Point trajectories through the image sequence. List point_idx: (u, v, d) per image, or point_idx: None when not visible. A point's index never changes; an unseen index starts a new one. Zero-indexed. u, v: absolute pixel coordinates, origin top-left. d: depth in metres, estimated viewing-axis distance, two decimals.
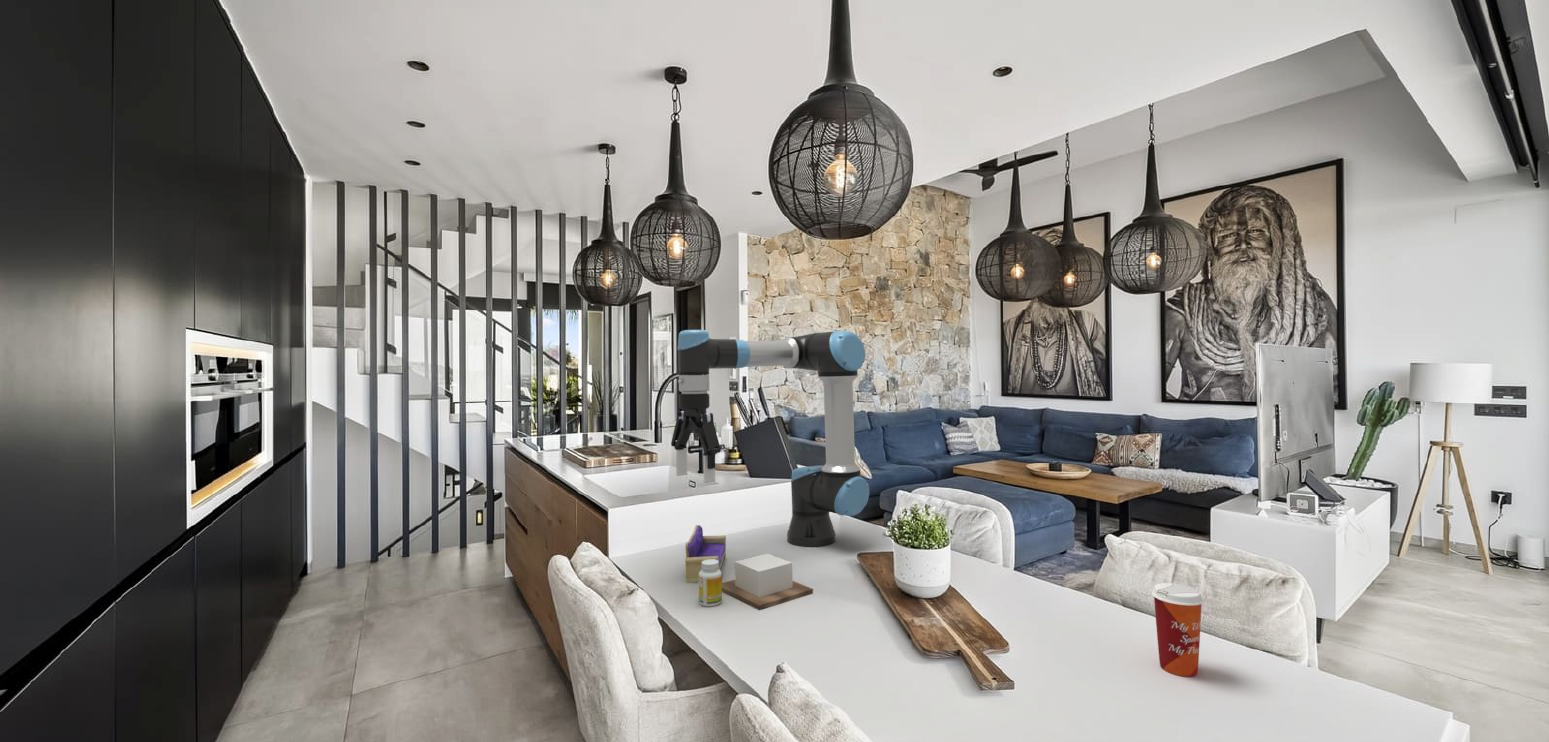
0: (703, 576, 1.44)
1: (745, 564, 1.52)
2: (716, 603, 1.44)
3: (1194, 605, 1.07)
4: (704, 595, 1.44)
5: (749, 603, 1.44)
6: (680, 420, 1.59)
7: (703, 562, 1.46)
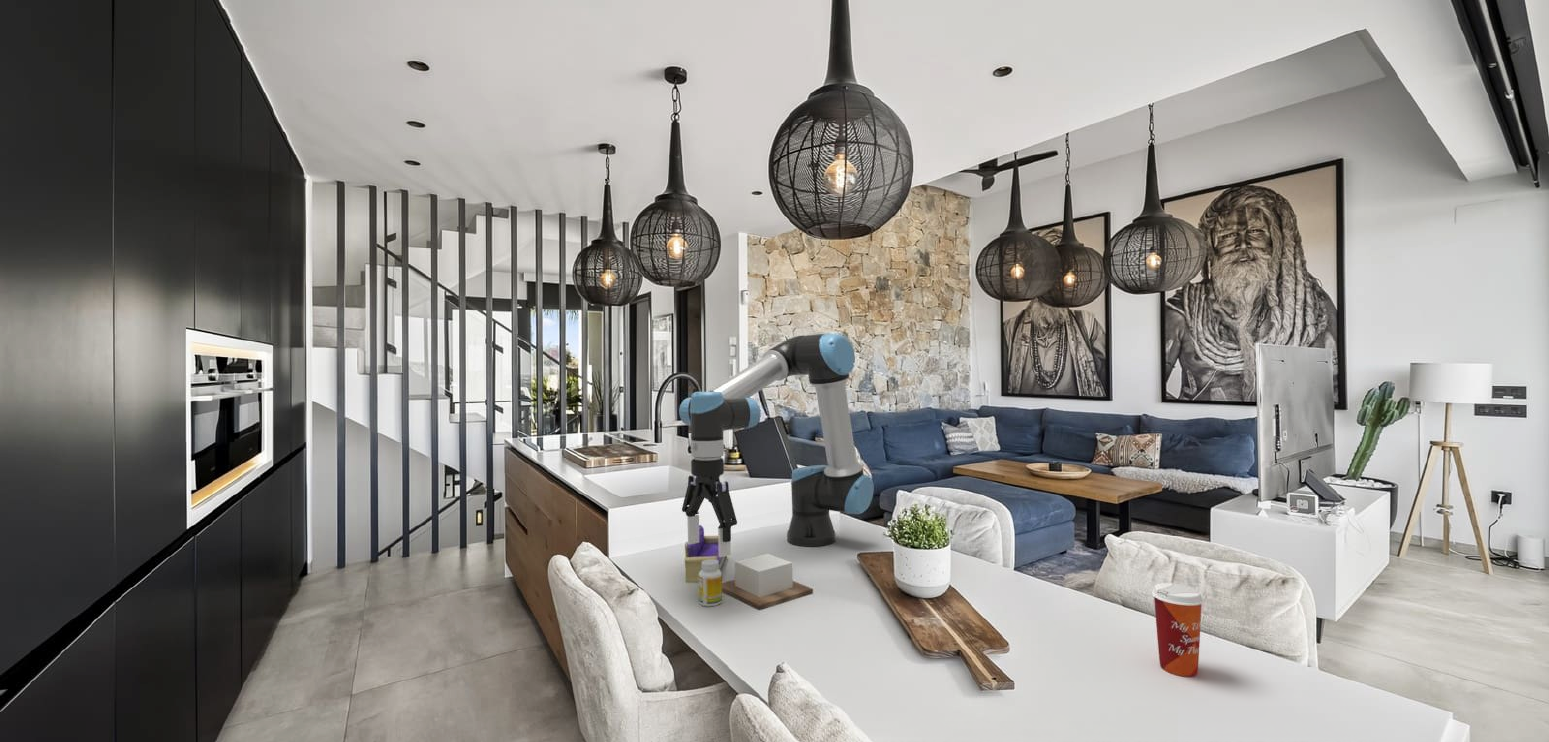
0: (703, 576, 1.44)
1: (745, 564, 1.52)
2: (716, 603, 1.44)
3: (1194, 605, 1.07)
4: (704, 595, 1.44)
5: (749, 603, 1.44)
6: (692, 485, 1.50)
7: (703, 562, 1.46)
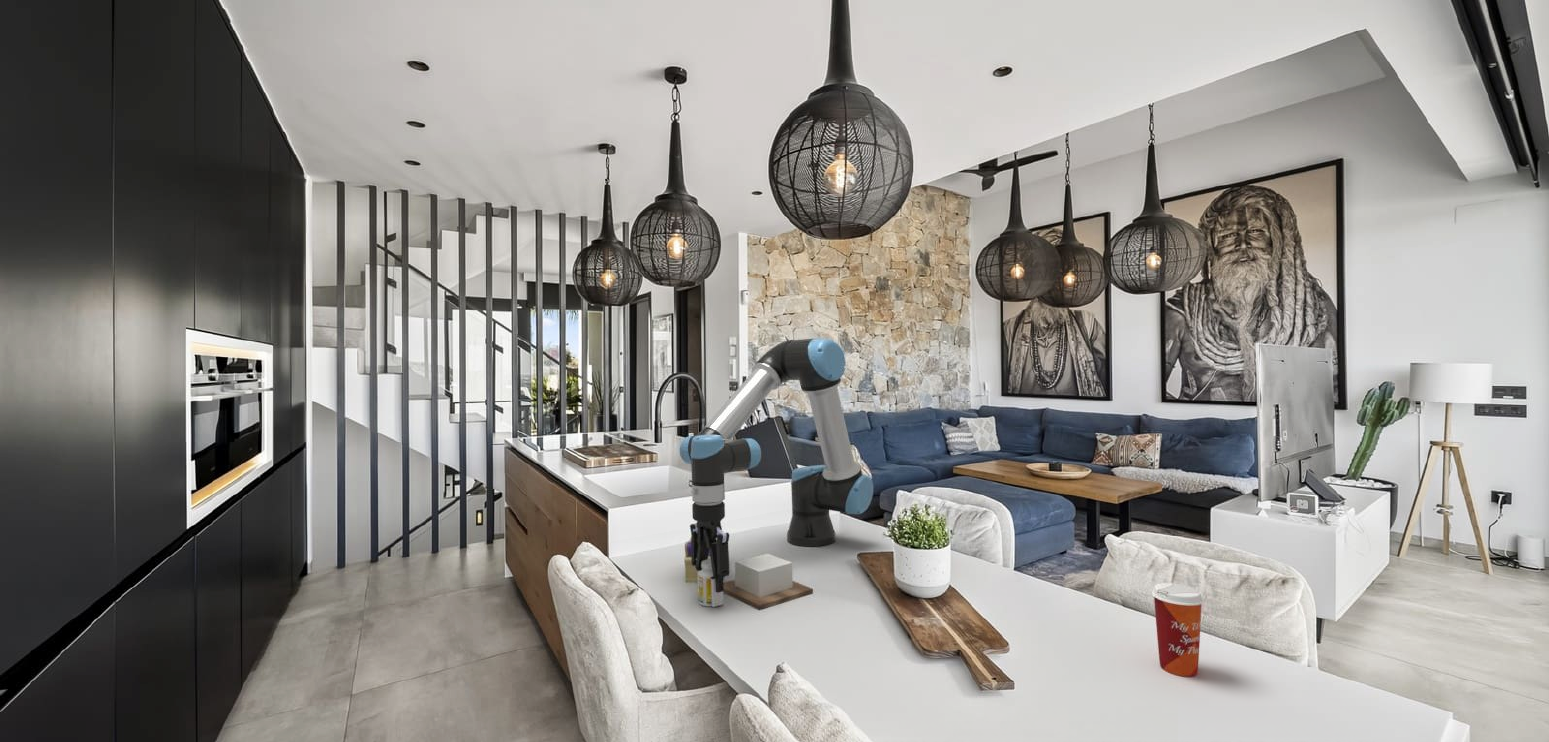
0: (703, 576, 1.44)
1: (745, 564, 1.52)
2: None
3: (1194, 605, 1.07)
4: (704, 594, 1.44)
5: (749, 603, 1.44)
6: (695, 533, 1.50)
7: (703, 562, 1.46)
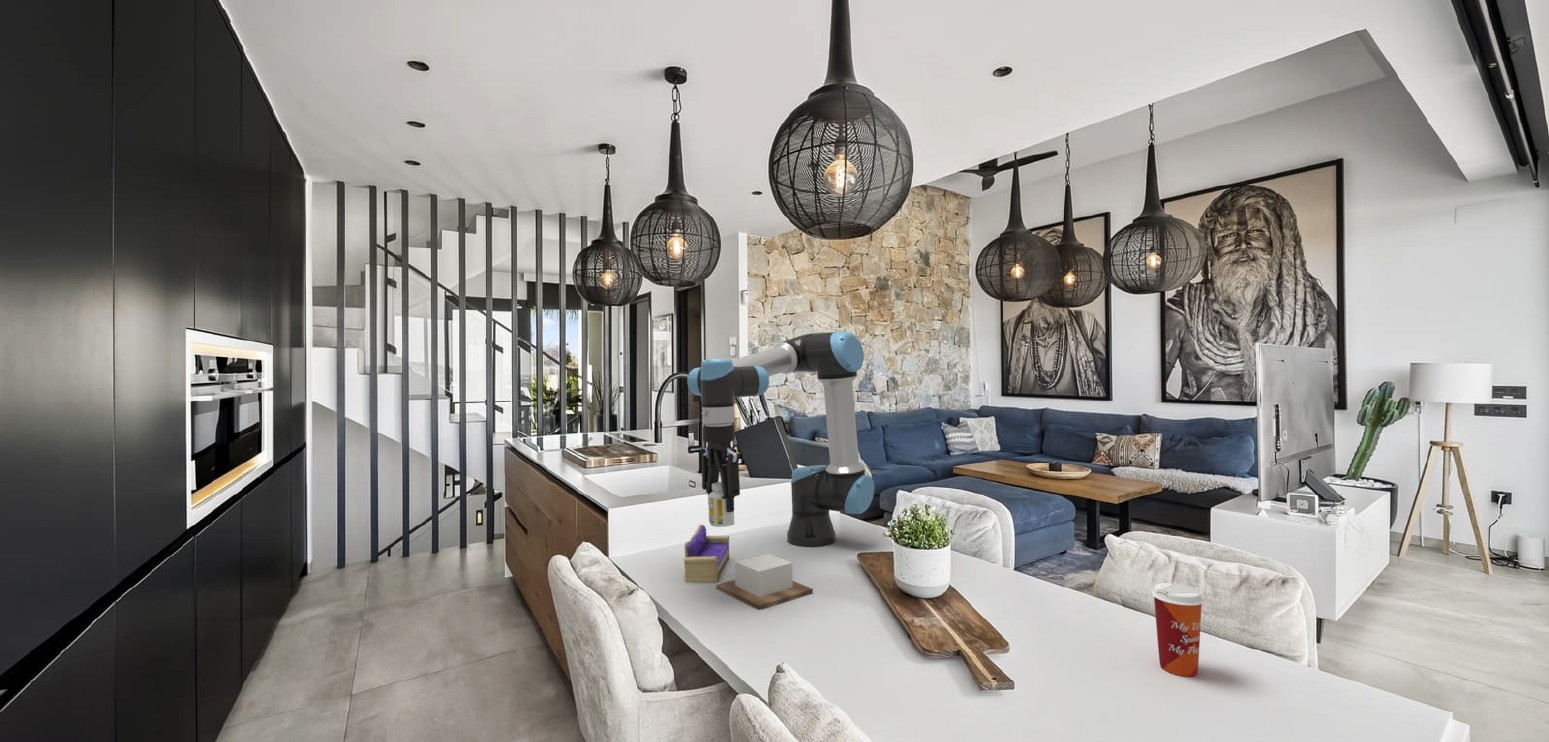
0: (714, 497, 1.45)
1: (745, 564, 1.52)
2: None
3: (1194, 605, 1.07)
4: (715, 515, 1.45)
5: (749, 603, 1.44)
6: (705, 457, 1.51)
7: (713, 484, 1.47)
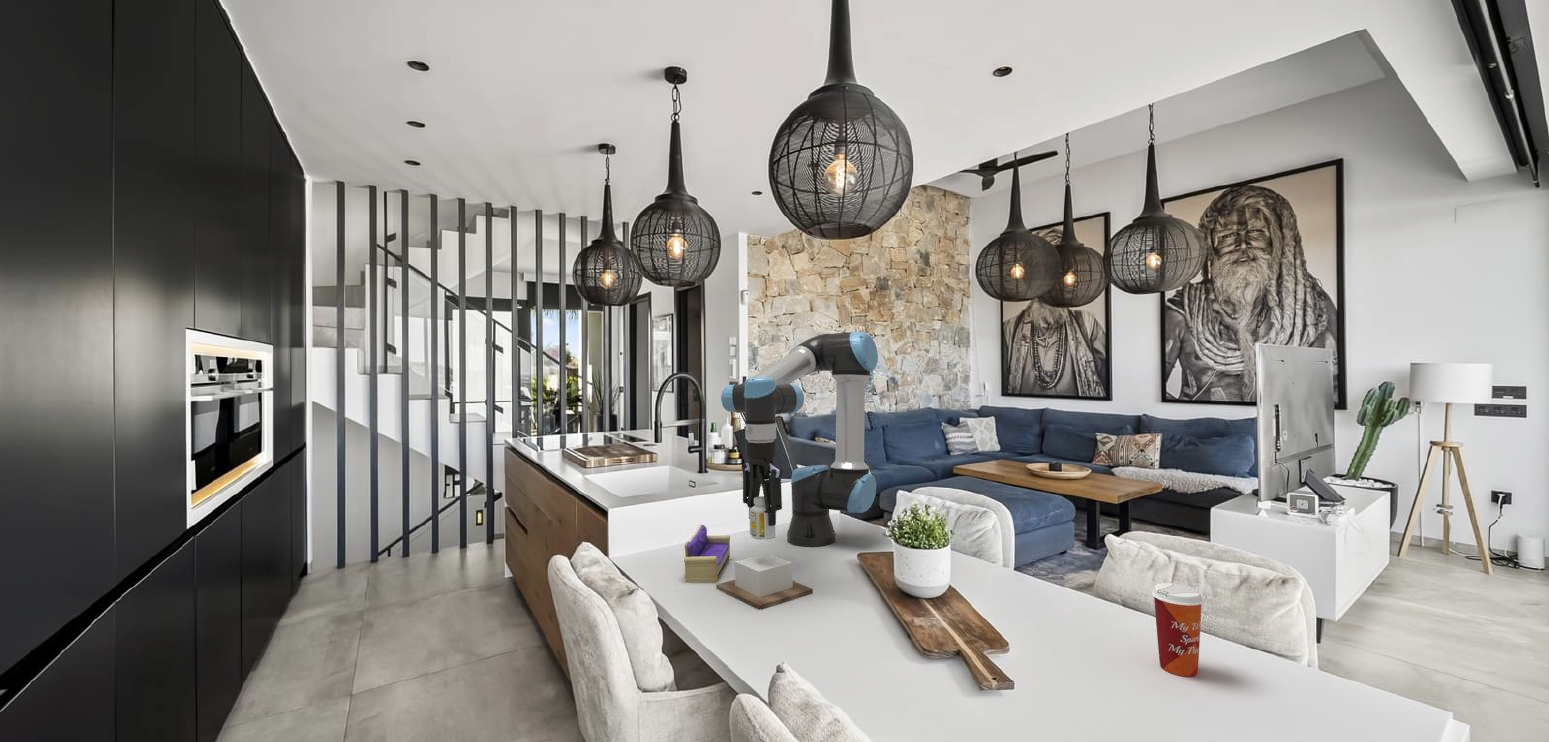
0: (756, 511, 1.51)
1: (745, 564, 1.52)
2: None
3: (1194, 605, 1.07)
4: (757, 528, 1.50)
5: (749, 603, 1.44)
6: (747, 472, 1.56)
7: (755, 498, 1.52)
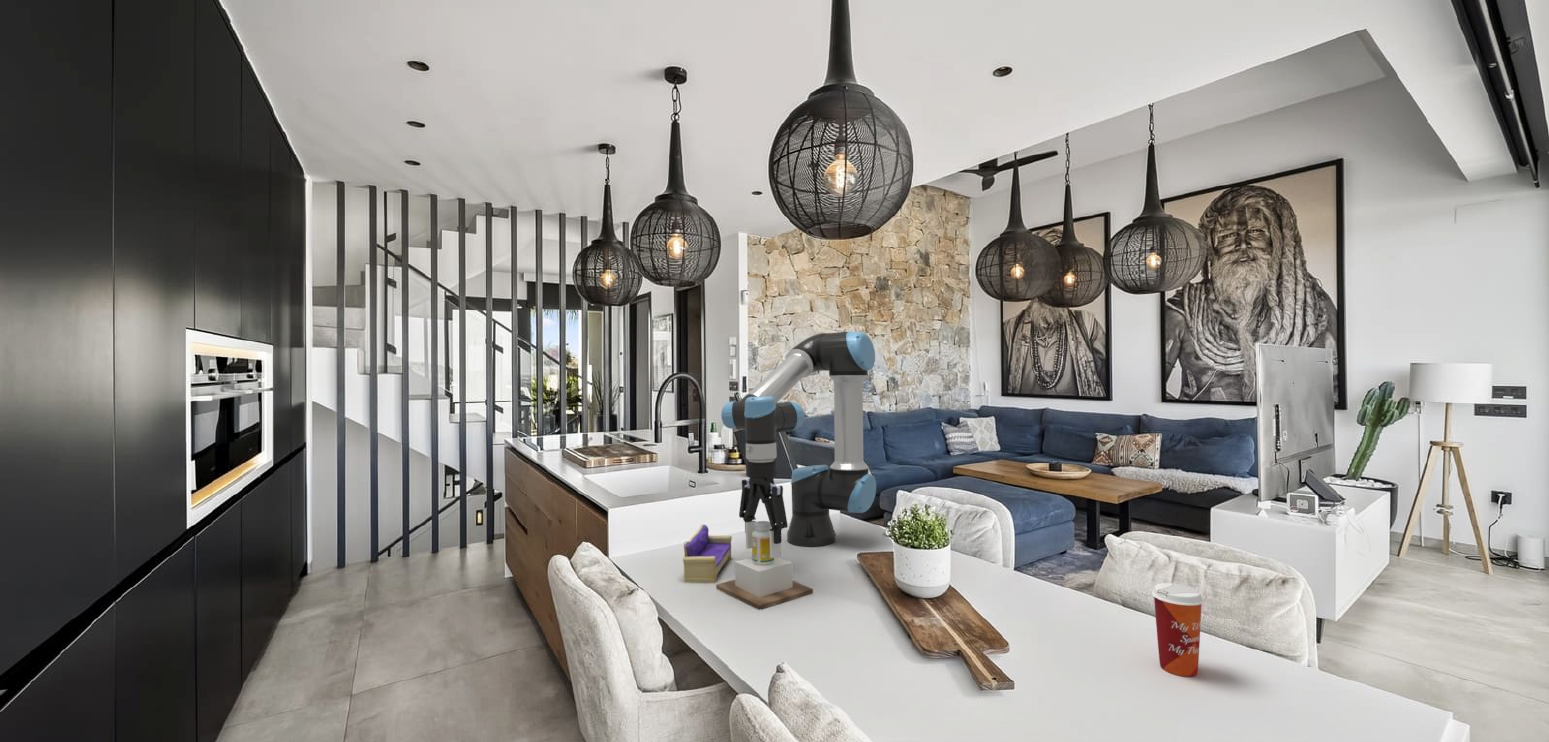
0: (757, 536, 1.51)
1: (745, 564, 1.52)
2: (769, 562, 1.51)
3: (1194, 605, 1.07)
4: (758, 553, 1.51)
5: (749, 603, 1.44)
6: (746, 488, 1.57)
7: (756, 523, 1.53)
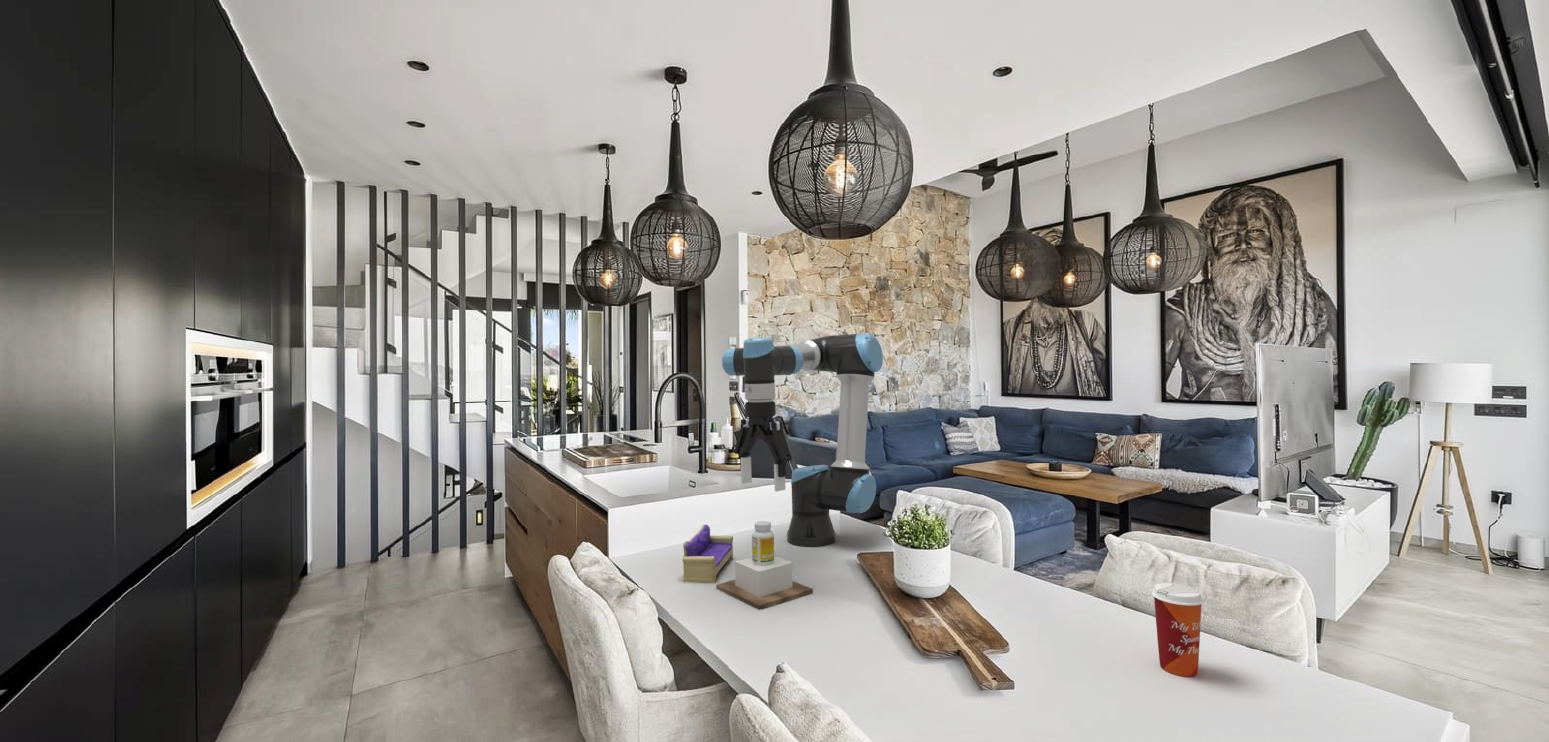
0: (757, 536, 1.51)
1: (745, 564, 1.52)
2: (769, 562, 1.51)
3: (1194, 605, 1.07)
4: (758, 554, 1.51)
5: (749, 603, 1.44)
6: (744, 428, 1.59)
7: (756, 523, 1.52)
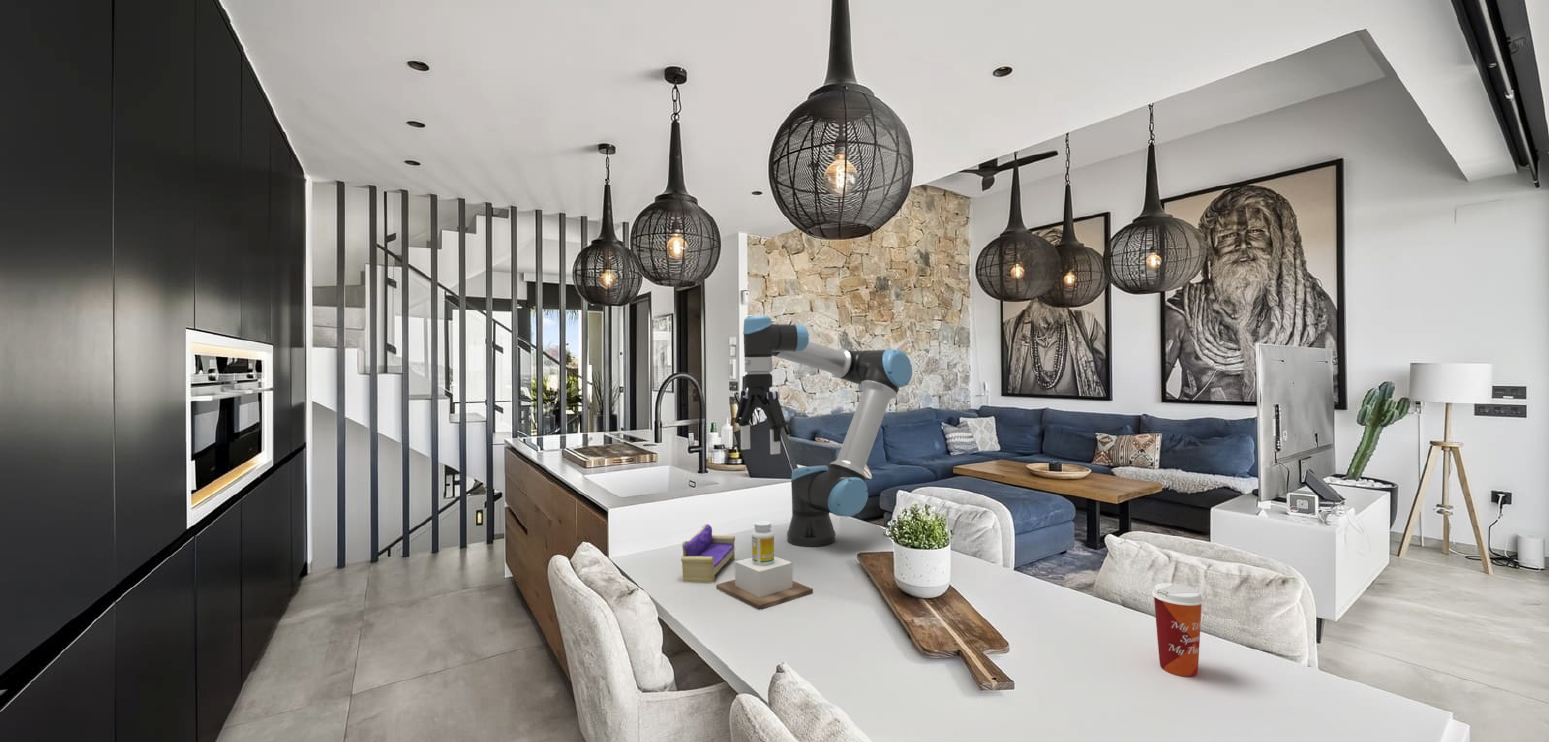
0: (757, 536, 1.51)
1: (745, 564, 1.52)
2: (769, 562, 1.51)
3: (1194, 605, 1.07)
4: (758, 554, 1.51)
5: (749, 603, 1.44)
6: (744, 399, 1.74)
7: (756, 523, 1.52)
